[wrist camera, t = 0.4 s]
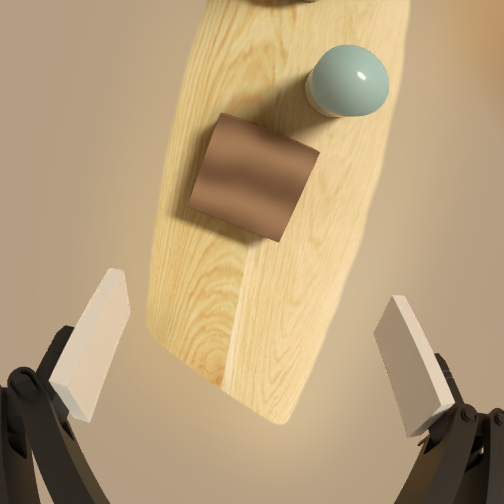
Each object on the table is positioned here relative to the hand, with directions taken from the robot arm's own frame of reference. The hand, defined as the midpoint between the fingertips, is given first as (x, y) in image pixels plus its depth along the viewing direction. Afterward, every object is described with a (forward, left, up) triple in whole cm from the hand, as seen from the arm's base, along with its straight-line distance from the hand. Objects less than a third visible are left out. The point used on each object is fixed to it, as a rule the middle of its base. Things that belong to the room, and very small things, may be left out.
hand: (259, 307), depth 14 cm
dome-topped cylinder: (-15, +2, -27) cm, 31 cm away
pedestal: (-1, -3, -27) cm, 27 cm away
